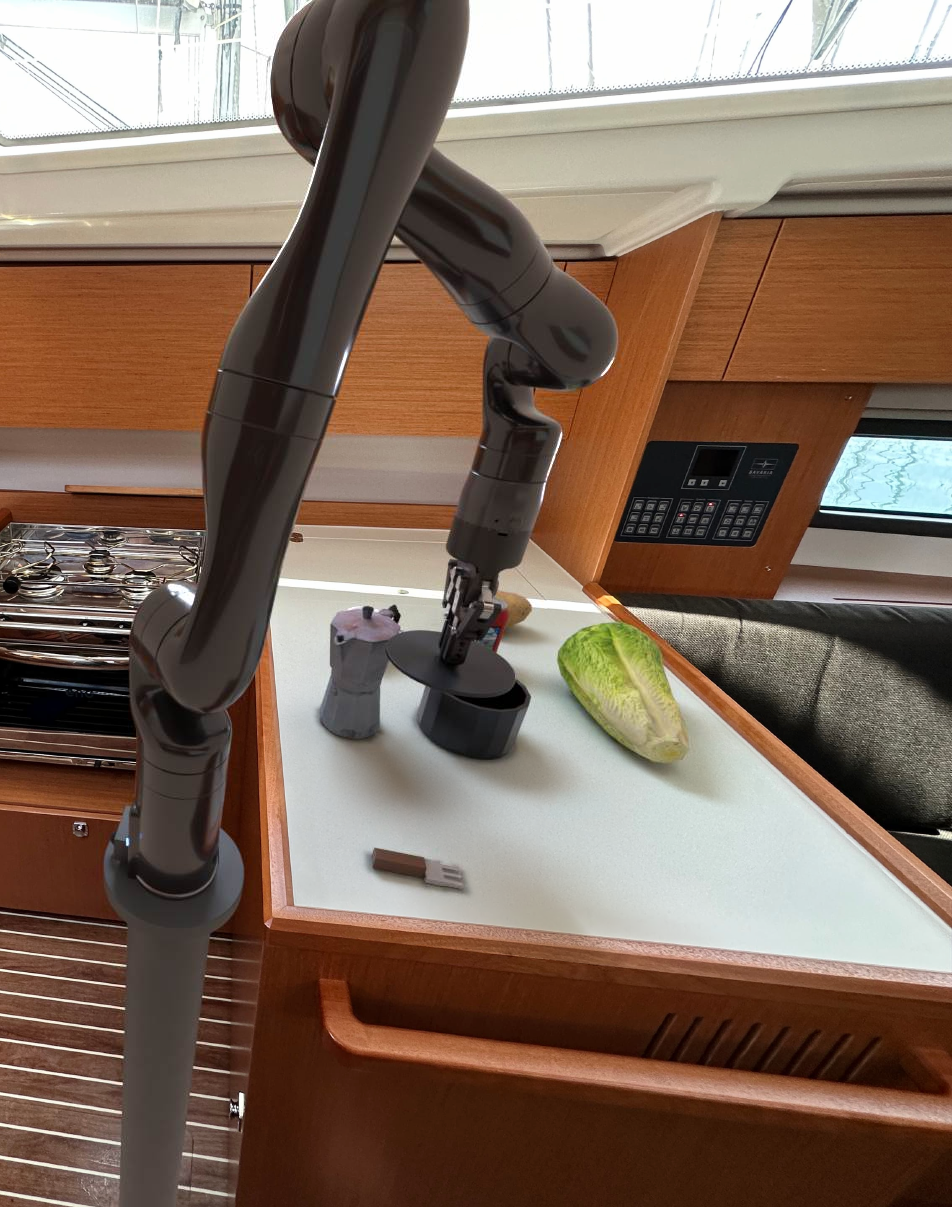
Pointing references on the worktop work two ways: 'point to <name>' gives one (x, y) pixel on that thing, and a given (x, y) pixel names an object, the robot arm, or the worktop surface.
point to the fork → (417, 867)
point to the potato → (515, 607)
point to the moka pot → (357, 670)
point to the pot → (473, 721)
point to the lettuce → (625, 689)
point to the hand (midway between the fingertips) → (450, 655)
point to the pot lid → (450, 665)
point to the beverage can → (496, 628)
